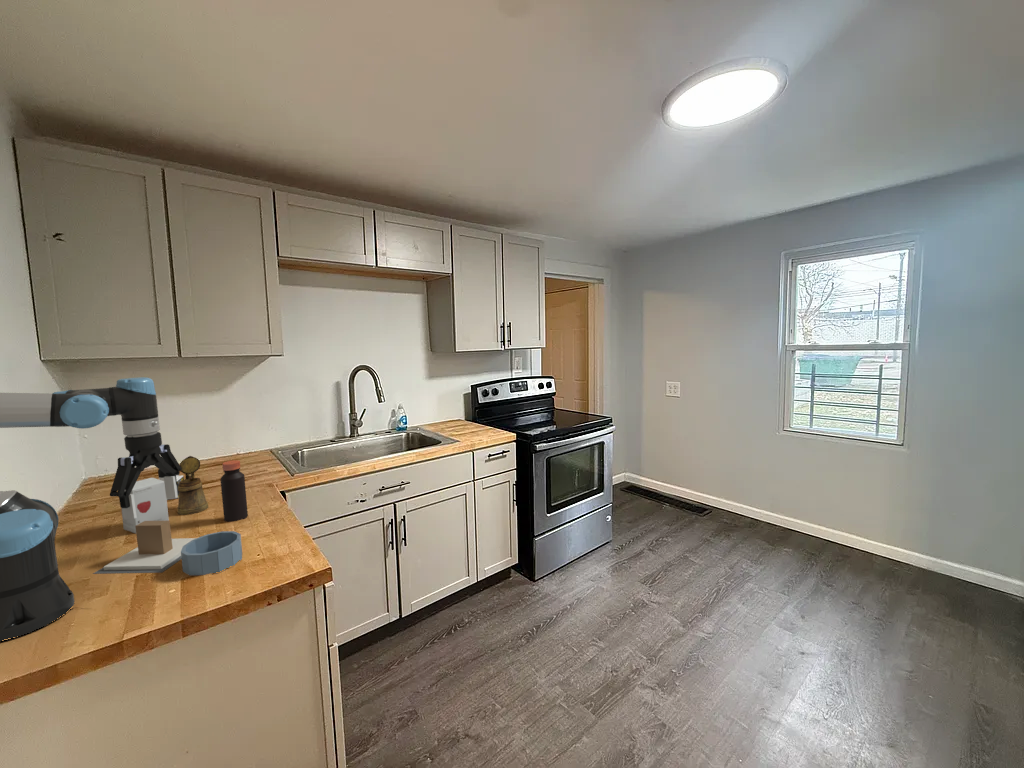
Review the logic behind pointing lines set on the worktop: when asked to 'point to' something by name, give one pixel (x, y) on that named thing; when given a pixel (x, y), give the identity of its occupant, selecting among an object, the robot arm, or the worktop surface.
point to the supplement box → (148, 503)
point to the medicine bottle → (178, 479)
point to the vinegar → (233, 492)
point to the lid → (151, 548)
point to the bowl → (211, 553)
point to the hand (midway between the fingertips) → (152, 507)
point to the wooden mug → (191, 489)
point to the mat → (138, 570)
